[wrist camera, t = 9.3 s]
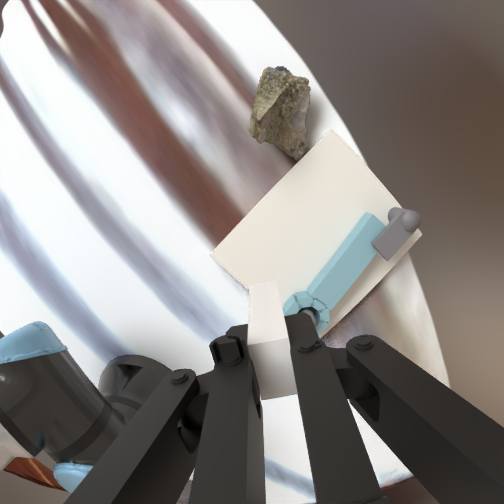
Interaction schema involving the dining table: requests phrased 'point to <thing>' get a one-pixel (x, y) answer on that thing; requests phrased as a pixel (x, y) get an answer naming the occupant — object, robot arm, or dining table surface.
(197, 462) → the robot arm
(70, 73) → the dining table surface
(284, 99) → the rock
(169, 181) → the dining table surface
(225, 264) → the board
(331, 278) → the link
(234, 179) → the dining table surface
